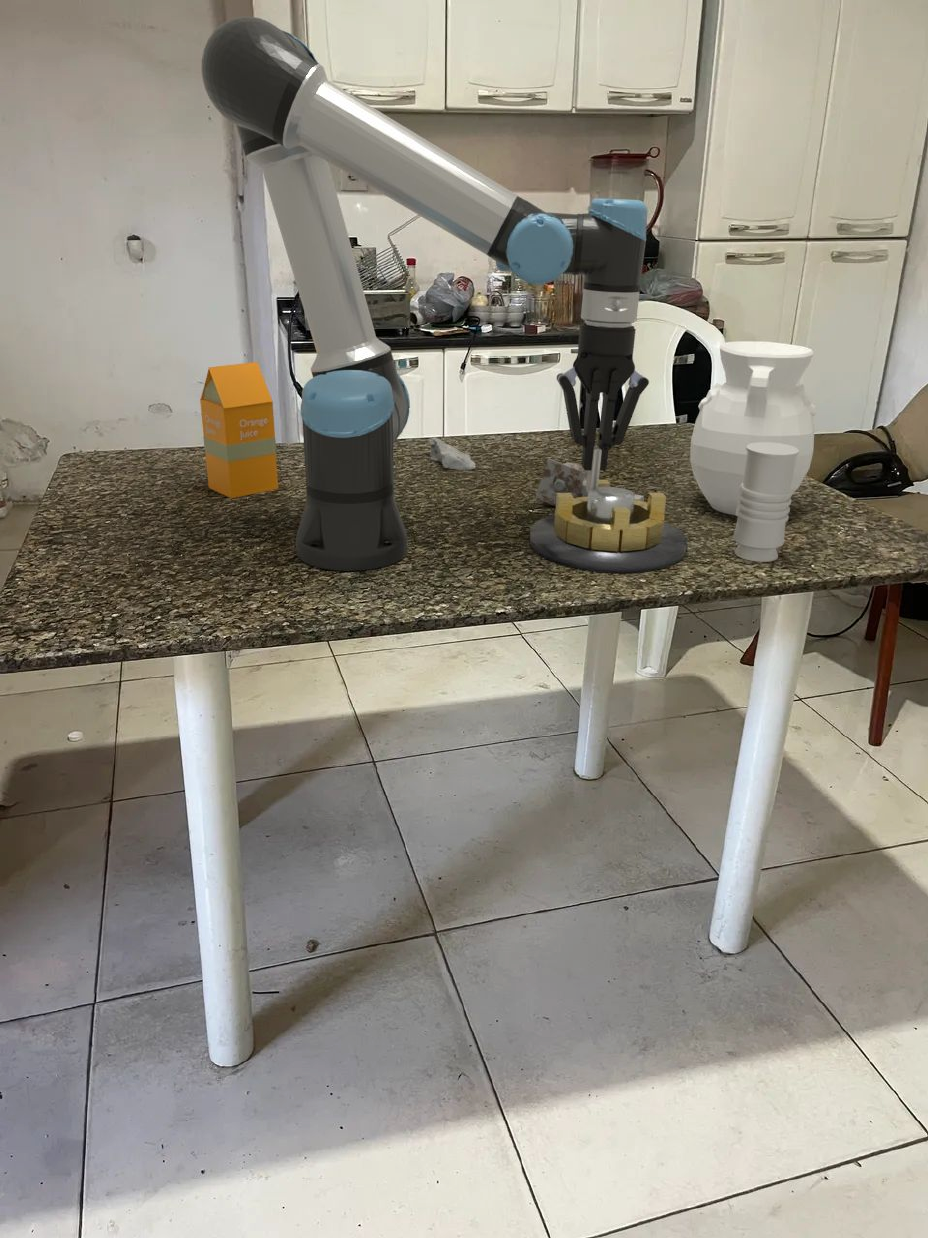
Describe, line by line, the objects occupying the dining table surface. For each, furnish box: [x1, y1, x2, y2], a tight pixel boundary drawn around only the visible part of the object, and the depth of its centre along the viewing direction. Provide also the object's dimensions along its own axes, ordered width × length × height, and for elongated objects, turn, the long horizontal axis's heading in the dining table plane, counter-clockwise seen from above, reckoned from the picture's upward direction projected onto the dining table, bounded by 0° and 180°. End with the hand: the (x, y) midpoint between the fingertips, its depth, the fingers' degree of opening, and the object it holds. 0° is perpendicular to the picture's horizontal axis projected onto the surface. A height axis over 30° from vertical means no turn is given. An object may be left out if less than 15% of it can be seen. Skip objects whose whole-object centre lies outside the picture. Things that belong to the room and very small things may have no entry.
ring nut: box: [554, 479, 667, 551], centre depth 133 cm, size 15×15×6 cm
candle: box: [733, 442, 799, 563], centre depth 129 cm, size 7×7×15 cm
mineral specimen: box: [428, 436, 477, 471], centre depth 173 cm, size 6×12×4 cm, turn 16°
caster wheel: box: [535, 458, 616, 507], centre depth 151 cm, size 7×11×10 cm
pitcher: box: [689, 340, 817, 516], centre depth 147 cm, size 19×18×25 cm
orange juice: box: [199, 361, 279, 499], centre depth 152 cm, size 8×9×20 cm
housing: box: [529, 486, 688, 574], centre depth 133 cm, size 22×22×8 cm
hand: (591, 491), depth 138 cm, fingers closed
